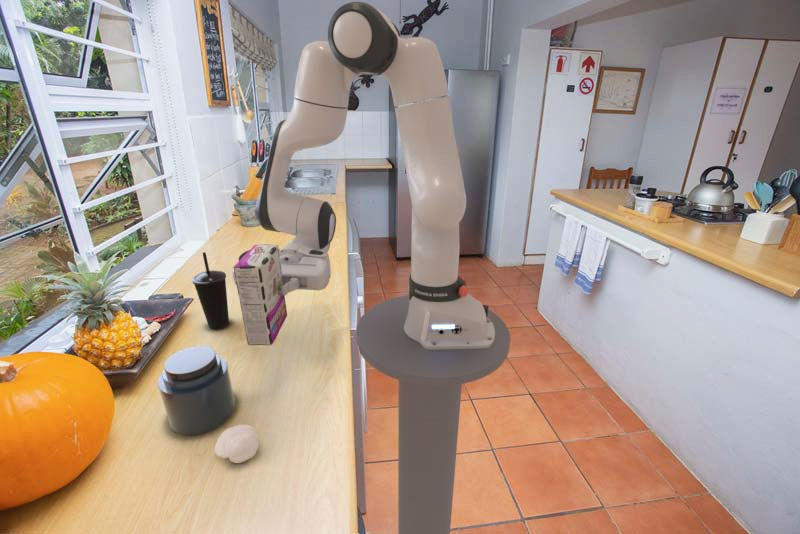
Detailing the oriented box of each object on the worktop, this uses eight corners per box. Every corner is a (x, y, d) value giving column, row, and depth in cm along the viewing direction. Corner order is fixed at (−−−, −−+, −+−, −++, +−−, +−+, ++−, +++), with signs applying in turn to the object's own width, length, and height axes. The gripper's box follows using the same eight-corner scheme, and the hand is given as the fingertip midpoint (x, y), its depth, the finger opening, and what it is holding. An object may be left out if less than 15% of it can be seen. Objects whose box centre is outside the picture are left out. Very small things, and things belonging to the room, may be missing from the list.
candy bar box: (264, 315, 82) (254, 243, 76) (287, 316, 82) (279, 243, 76) (245, 346, 72) (231, 265, 66) (272, 346, 72) (261, 266, 66)
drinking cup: (215, 335, 95) (198, 261, 88) (196, 327, 99) (179, 254, 91) (241, 322, 101) (228, 251, 94) (222, 314, 105) (208, 245, 97)
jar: (246, 395, 76) (236, 344, 71) (213, 439, 66) (199, 383, 61) (195, 389, 78) (182, 338, 73) (155, 431, 68) (137, 376, 63)
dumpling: (262, 438, 67) (262, 424, 65) (254, 467, 62) (254, 454, 60) (219, 435, 66) (218, 421, 63) (209, 465, 61) (207, 451, 59)
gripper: (249, 249, 88) (213, 273, 76) (335, 253, 85) (312, 279, 73) (253, 274, 91) (219, 302, 78) (337, 278, 88) (316, 308, 75)
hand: (265, 291), depth 76 cm, fingers closed on candy bar box, 5 cm apart
